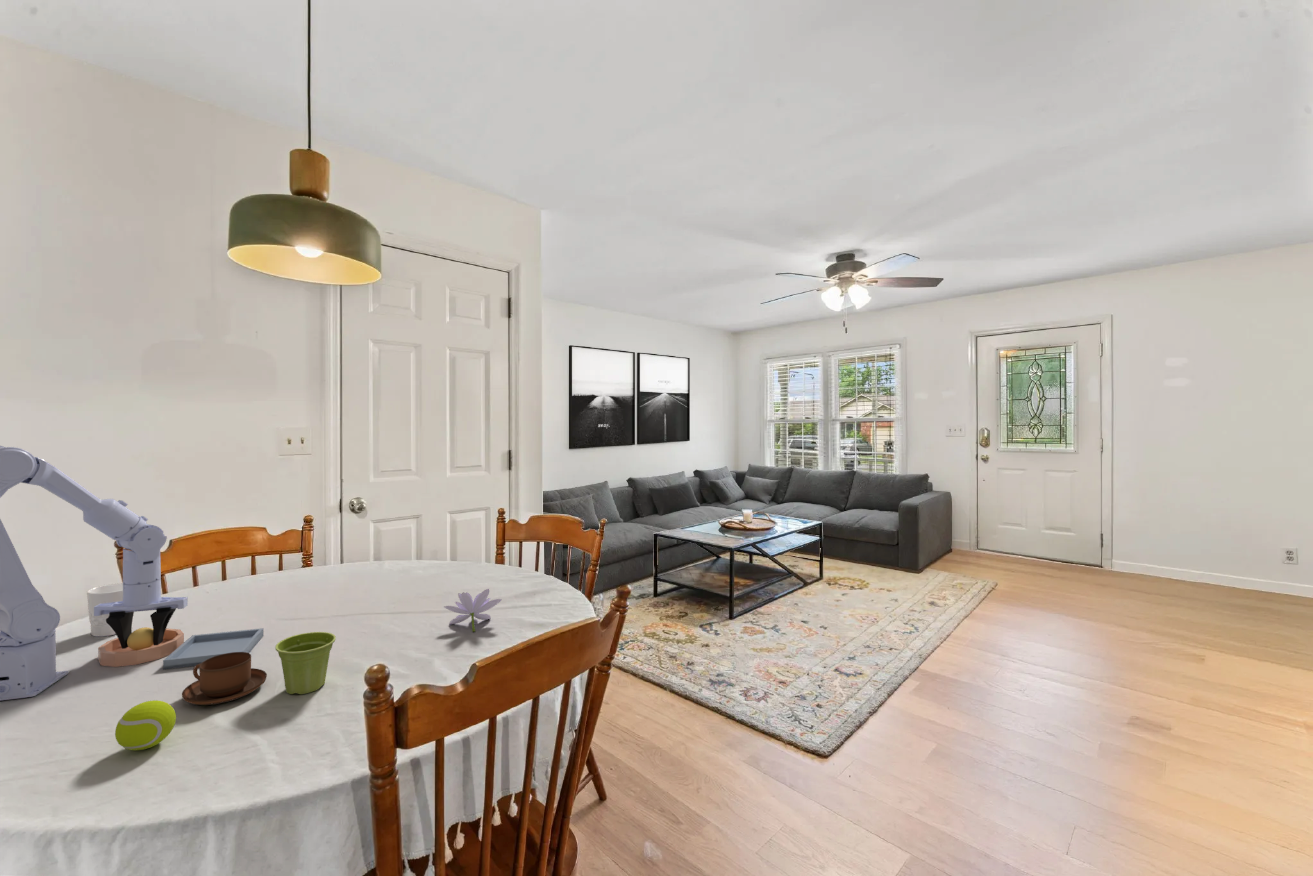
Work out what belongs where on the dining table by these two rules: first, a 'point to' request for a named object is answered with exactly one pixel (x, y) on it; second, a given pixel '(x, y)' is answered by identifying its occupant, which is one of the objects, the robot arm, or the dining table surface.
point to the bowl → (117, 656)
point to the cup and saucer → (223, 679)
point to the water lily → (472, 607)
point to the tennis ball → (145, 725)
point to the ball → (140, 638)
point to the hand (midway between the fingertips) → (142, 645)
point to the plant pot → (305, 660)
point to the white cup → (99, 597)
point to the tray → (212, 647)
